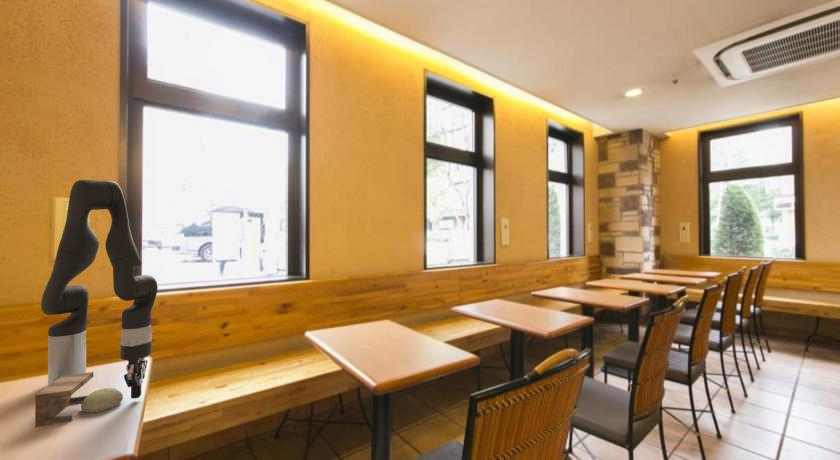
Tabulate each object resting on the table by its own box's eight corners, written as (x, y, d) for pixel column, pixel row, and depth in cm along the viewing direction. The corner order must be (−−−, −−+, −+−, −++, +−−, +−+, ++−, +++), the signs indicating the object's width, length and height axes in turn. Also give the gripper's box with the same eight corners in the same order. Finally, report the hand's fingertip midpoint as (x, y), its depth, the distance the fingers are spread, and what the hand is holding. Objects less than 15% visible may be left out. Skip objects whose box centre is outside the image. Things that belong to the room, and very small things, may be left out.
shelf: (62, 403, 106) (62, 375, 106) (93, 399, 109) (93, 371, 109) (35, 427, 93) (35, 395, 94) (70, 421, 96) (70, 390, 96)
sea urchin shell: (100, 410, 99) (84, 388, 100) (85, 427, 100) (69, 405, 101) (133, 395, 108) (118, 375, 109) (118, 411, 109) (103, 391, 110)
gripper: (128, 336, 112) (128, 390, 112) (112, 349, 100) (112, 409, 100) (157, 333, 115) (157, 386, 115) (144, 345, 103) (144, 404, 103)
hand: (136, 397), depth 108 cm, fingers closed
